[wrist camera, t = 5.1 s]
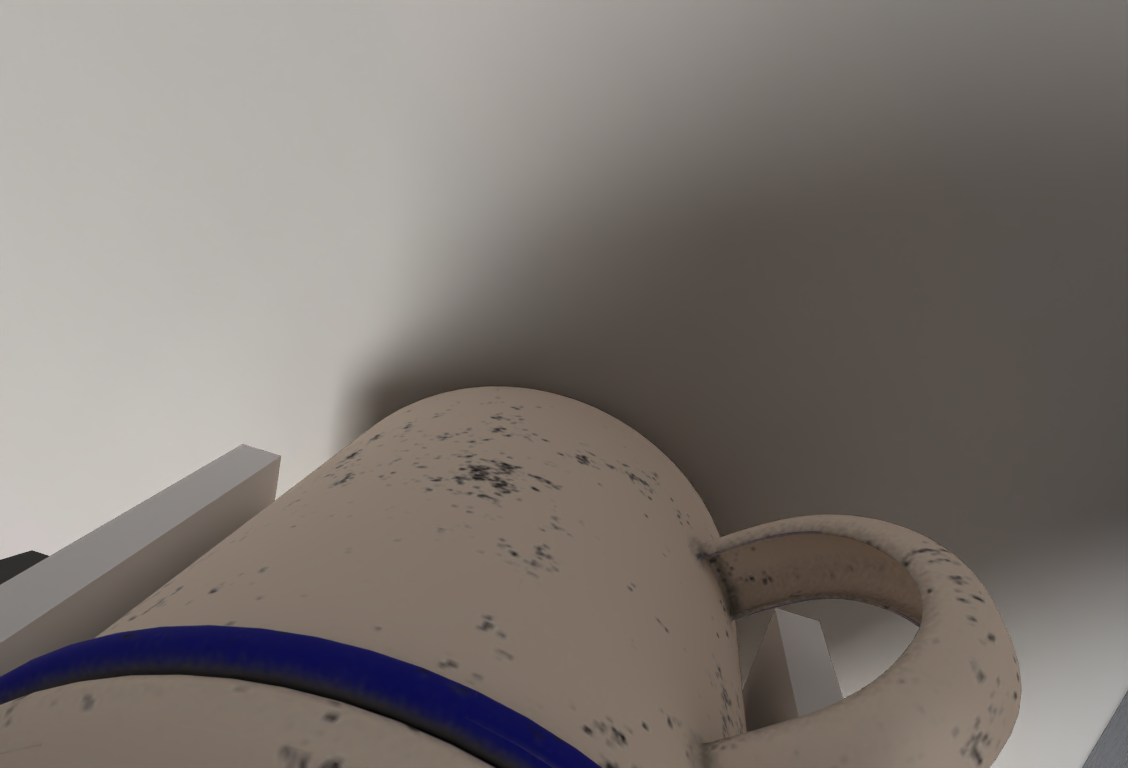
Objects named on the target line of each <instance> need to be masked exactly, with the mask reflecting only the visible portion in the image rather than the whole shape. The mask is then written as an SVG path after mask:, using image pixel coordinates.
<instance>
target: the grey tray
mask: <svg viewBox="0 0 1128 768" xmlns="http://www.w3.org/2000/svg"><path fill="white" fill-rule="evenodd" d="M1083 768H1128V692H1127V694H1126V695H1125V697H1124V699H1123V700H1122V702H1121V704H1120V705H1119V707H1118V709H1117V710H1116V712H1115V714H1114V715H1113V717H1112V719H1111V721H1110V722H1109V724H1108V726H1107V727H1106V729H1105V731H1104V732H1103V734H1102V736H1101V737H1100V739H1099V741H1098V742H1097V744H1096V746H1095V747H1094V749H1093V751H1092V753H1091V754H1090V756H1089V758H1088V759H1087V761H1086V763H1085V764H1084V766H1083Z"/></svg>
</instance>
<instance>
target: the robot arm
mask: <svg viewBox="0 0 1128 768" xmlns="http://www.w3.org/2000/svg"><path fill="white" fill-rule="evenodd" d="M280 460H281V456H280V455H276V454H273V453H270V452H267V451H263V450H260V449H257V448H254V447H250V446H247V445H244V444H242V445H240V446H238V447H237V448H235V449H233V450H231V451H230V452H228V453H226V454H225V455H223V456H221V457H219V458H218V459H216V460H214V461H213V462H211V463H209V464H207V465H206V466H204V467H202V468H201V469H199V470H197V471H195V472H194V473H192V474H190V475H188V476H187V477H185V478H183V479H182V480H180V481H178V482H176V483H175V484H173V485H171V486H170V487H168V488H166V489H164V490H163V491H161V492H159V493H157V494H156V495H154V496H152V497H151V498H149V499H147V500H145V501H144V502H142V503H140V504H139V505H137V506H135V507H133V508H132V509H130V510H128V511H127V512H125V513H123V514H121V515H120V516H118V517H116V518H114V519H113V520H111V521H109V522H108V523H106V524H104V525H102V526H101V527H99V528H97V529H96V530H94V531H92V532H90V533H89V534H87V535H85V536H84V537H82V538H80V539H78V540H77V541H75V542H73V543H71V544H70V545H68V546H66V547H65V548H63V549H61V550H59V551H58V552H56V553H54V554H53V555H51V556H47V555H44V554H41V553H38V552H35V551H29V552H25V553H22V554H18V555H15V556H12V557H8V558H5V559H2V560H0V677H1V676H2V675H4V674H6V673H8V672H10V671H12V670H14V669H15V668H17V667H19V666H21V665H23V664H25V663H26V662H28V661H30V660H32V659H34V658H37V657H39V656H42V655H45V654H47V653H50V652H52V651H55V650H57V649H60V648H63V647H65V646H68V645H70V644H74V643H78V642H82V641H86V640H90V639H94V638H95V637H97V636H98V635H99V634H101V633H102V632H103V631H104V630H106V629H107V628H108V627H110V626H111V625H112V624H114V623H115V622H116V621H118V620H119V619H120V618H122V617H123V616H124V615H126V614H127V613H128V612H129V611H131V610H132V609H133V608H135V607H136V606H137V605H139V604H140V603H141V602H143V601H144V600H145V599H147V598H148V597H149V596H150V595H152V594H153V593H154V592H156V591H157V590H158V589H160V588H161V587H162V586H164V585H165V584H166V583H168V582H169V581H170V580H171V579H173V578H174V577H175V576H177V575H178V574H179V573H181V572H182V571H183V570H185V569H186V568H187V567H189V566H190V565H191V564H193V563H194V562H195V561H196V560H198V559H199V558H200V557H202V556H203V555H204V554H206V553H207V552H208V551H210V550H211V549H212V548H214V547H215V546H216V545H217V544H219V543H220V542H221V541H223V540H224V539H225V538H227V537H228V536H229V535H231V534H232V533H233V532H235V531H236V530H237V529H239V528H240V527H241V526H242V525H244V524H245V523H246V522H248V521H249V520H250V519H252V518H253V517H254V516H256V515H257V514H258V513H260V512H261V511H262V510H263V509H265V508H266V507H267V506H269V505H270V504H271V503H273V502H274V501H275V496H276V489H277V481H278V474H279V467H280ZM743 700H744V710H745V719H746V729H747V732H749V731H753V730H757V729H760V728H764V727H767V726H771V725H774V724H778V723H781V722H785V721H788V720H791V719H794V718H797V717H800V716H803V715H806V714H809V713H812V712H814V711H817V710H820V709H823V708H825V707H827V706H829V705H832V704H834V703H836V702H839V701H841V700H843V697H842V693H841V690H840V687H839V684H838V680H837V677H836V674H835V671H834V668H833V664H832V661H831V658H830V655H829V652H828V648H827V645H826V642H825V639H824V635H823V632H822V629H821V626H820V623H819V621H816V620H813V619H810V618H807V617H803V616H800V615H797V614H794V613H790V612H787V611H784V610H781V609H777V608H775V609H774V612H773V614H772V617H771V620H770V622H769V625H768V627H767V630H766V632H765V635H764V637H763V640H762V643H761V645H760V648H759V650H758V653H757V655H756V658H755V660H754V663H753V666H752V668H751V671H750V673H749V676H748V678H747V681H746V683H745V686H744V689H743Z"/></svg>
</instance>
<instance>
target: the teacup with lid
mask: <svg viewBox="0 0 1128 768" xmlns="http://www.w3.org/2000/svg"><path fill="white" fill-rule="evenodd" d="M816 599H847V600H855V601H860V602H865V603H868V604H872V605H875V606H879V607H881V608H884V609H887V610H889V611H892V612H894V613H896V614H898V615H900V616H902V617H904V618H906V619H907V620H909V621H911V622H912V623H914V624H915V625H917V626H918V627H920V628H919V630H918V632H917V634H916V636H915V638H914V640H913V641H912V642H911V644H910V645H909V646H908V648H907V649H906V650H905V652H904V653H903V654H902V655H901V657H900V658H899V659H898V660H897V661H896V662H895V663H894V664H893V665H892V666H891V667H890V668H889V669H888V670H887V671H885V672H884V673H883V674H882V675H881V676H879V677H878V678H877V679H876V680H874V681H873V682H872V683H870V684H869V685H867V686H865V687H864V688H862V689H861V690H859V691H858V692H856V693H854V694H852V695H850V696H848V697H847V698H845V699H843V700H841V701H839V702H836V703H834V704H832V705H829V706H827V707H825V708H823V709H820V710H817V711H814V712H812V713H809V714H806V715H803V716H800V717H797V718H794V719H791V720H788V721H785V722H781V723H778V724H774V725H771V726H767V727H764V728H760V729H757V730H753V731H749V732H747V729H746V719H745V710H744V700H743V690H742V680H741V670H740V660H739V650H738V640H737V630H736V620H735V619H738V618H740V617H744V616H747V615H750V614H753V613H756V612H760V611H763V610H767V609H770V608H774V607H778V606H782V605H786V604H791V603H796V602H801V601H808V600H816ZM1021 691H1022V690H1021V678H1020V669H1019V663H1018V660H1017V656H1016V653H1015V650H1014V647H1013V644H1012V641H1011V638H1010V636H1009V634H1008V631H1007V629H1006V627H1005V625H1004V623H1003V620H1002V618H1001V616H1000V614H999V612H998V610H997V608H996V606H995V604H994V602H993V600H992V599H991V597H990V595H989V593H988V591H987V590H986V588H985V587H984V586H983V585H982V583H981V582H980V581H979V579H978V578H977V577H976V576H975V574H974V573H973V572H972V571H971V570H970V569H969V568H968V567H967V566H966V565H965V564H964V563H963V562H962V561H961V560H960V559H959V558H957V557H956V556H955V555H954V554H952V553H951V552H949V551H948V550H947V549H945V548H944V547H943V546H941V545H939V544H938V543H936V542H934V541H932V540H931V539H929V538H927V537H926V536H924V535H921V534H919V533H917V532H915V531H912V530H910V529H908V528H905V527H902V526H899V525H896V524H893V523H890V522H885V521H881V520H877V519H872V518H866V517H860V516H852V515H829V514H823V515H808V516H800V517H793V518H788V519H782V520H778V521H773V522H769V523H765V524H762V525H758V526H754V527H751V528H748V529H744V530H741V531H738V532H735V533H732V534H729V535H726V536H723V537H720V535H719V533H718V531H717V529H716V526H715V524H714V522H713V520H712V517H711V515H710V513H709V512H708V510H707V508H706V506H705V505H704V503H703V501H702V500H701V498H700V496H699V495H698V493H697V492H696V490H695V489H694V488H693V486H692V485H691V484H690V482H689V481H688V479H687V478H686V477H685V476H684V475H683V473H682V472H681V471H680V470H679V469H678V468H677V467H676V465H675V464H674V463H673V462H672V461H671V460H670V459H669V458H668V457H667V456H666V455H665V454H664V453H662V452H661V451H660V450H659V449H658V448H657V447H656V446H655V445H654V444H652V443H651V442H650V441H649V440H647V439H646V438H645V437H643V436H642V435H641V434H640V433H638V432H637V431H636V430H634V429H632V428H631V427H629V426H628V425H626V424H624V423H623V422H621V421H620V420H618V419H617V418H615V417H613V416H611V415H609V414H607V413H605V412H603V411H601V410H599V409H597V408H595V407H592V406H590V405H587V404H585V403H582V402H580V401H577V400H575V399H571V398H568V397H564V396H561V395H558V394H554V393H550V392H545V391H540V390H534V389H529V388H518V387H508V386H485V387H475V388H465V389H459V390H455V391H450V392H445V393H441V394H438V395H434V396H431V397H428V398H425V399H422V400H420V401H417V402H415V403H413V404H410V405H408V406H406V407H403V408H401V409H399V410H398V411H396V412H394V413H392V414H391V415H389V416H387V417H385V418H384V419H382V420H381V421H380V422H378V423H377V424H375V425H374V426H373V427H371V428H370V429H369V430H367V431H366V432H365V433H363V434H362V435H361V436H359V437H358V438H357V439H355V440H354V441H353V442H351V443H350V444H349V445H348V446H346V447H345V448H344V449H342V450H341V451H340V452H338V453H337V454H336V455H334V456H333V457H332V458H330V459H329V460H328V461H327V462H325V463H324V464H323V465H321V466H320V467H319V468H317V469H316V470H315V471H313V472H312V473H311V474H309V475H308V476H307V477H306V478H304V479H303V480H302V481H300V482H299V483H298V484H296V485H295V486H294V487H292V488H291V489H290V490H288V491H287V492H286V493H284V494H283V495H282V496H281V497H279V498H278V499H277V500H275V501H274V502H273V503H271V504H270V505H269V506H267V507H266V508H265V509H263V510H262V511H261V512H260V513H258V514H257V515H256V516H254V517H253V518H252V519H250V520H249V521H248V522H246V523H245V524H244V525H242V526H241V527H240V528H239V529H237V530H236V531H235V532H233V533H232V534H231V535H229V536H228V537H227V538H225V539H224V540H223V541H221V542H220V543H219V544H217V545H216V546H215V547H214V548H212V549H211V550H210V551H208V552H207V553H206V554H204V555H203V556H202V557H200V558H199V559H198V560H196V561H195V562H194V563H193V564H191V565H190V566H189V567H187V568H186V569H185V570H183V571H182V572H181V573H179V574H178V575H177V576H175V577H174V578H173V579H171V580H170V581H169V582H168V583H166V584H165V585H164V586H162V587H161V588H160V589H158V590H157V591H156V592H154V593H153V594H152V595H150V596H149V597H148V598H147V599H145V600H144V601H143V602H141V603H140V604H139V605H137V606H136V607H135V608H133V609H132V610H131V611H129V612H128V613H127V614H126V615H124V616H123V617H122V618H120V619H119V620H118V621H116V622H115V623H114V624H112V625H111V626H110V627H108V628H107V629H106V630H104V631H103V632H102V633H101V634H99V635H98V636H97V637H95V638H94V639H90V640H86V641H82V642H78V643H74V644H70V645H68V646H65V647H63V648H60V649H57V650H55V651H52V652H50V653H47V654H45V655H42V656H39V657H37V658H34V659H32V660H30V661H28V662H26V663H25V664H23V665H21V666H19V667H17V668H15V669H14V670H12V671H10V672H8V673H6V674H4V675H2V676H1V677H0V768H989V767H990V766H991V765H992V764H993V762H994V761H995V760H996V758H997V757H998V755H999V753H1000V752H1001V750H1002V748H1003V747H1004V745H1005V743H1006V742H1007V740H1008V738H1009V737H1010V735H1011V733H1012V730H1013V727H1014V725H1015V722H1016V719H1017V717H1018V714H1019V708H1020V699H1021Z"/></svg>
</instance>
